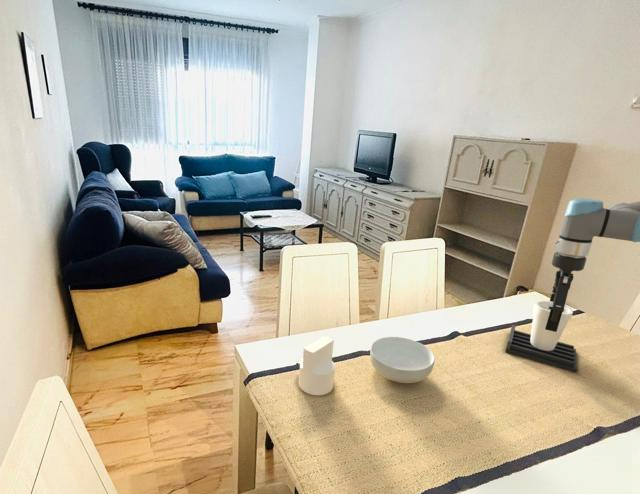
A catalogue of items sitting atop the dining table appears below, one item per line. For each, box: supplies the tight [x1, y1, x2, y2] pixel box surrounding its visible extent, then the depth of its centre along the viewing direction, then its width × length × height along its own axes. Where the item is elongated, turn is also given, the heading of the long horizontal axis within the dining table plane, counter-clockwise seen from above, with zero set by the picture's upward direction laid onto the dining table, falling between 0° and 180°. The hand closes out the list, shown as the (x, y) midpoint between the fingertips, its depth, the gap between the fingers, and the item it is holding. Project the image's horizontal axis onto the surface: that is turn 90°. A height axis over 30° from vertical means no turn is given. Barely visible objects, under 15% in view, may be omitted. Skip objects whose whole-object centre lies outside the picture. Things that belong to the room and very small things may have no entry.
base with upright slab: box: [298, 335, 336, 396], centre depth 98 cm, size 9×9×12 cm
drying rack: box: [504, 324, 578, 374], centre depth 119 cm, size 18×14×4 cm
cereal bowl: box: [369, 336, 436, 384], centre depth 105 cm, size 17×17×7 cm
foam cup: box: [530, 300, 574, 351], centre depth 117 cm, size 10×9×13 cm
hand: (551, 321), depth 116 cm, fingers open, 13 cm apart
